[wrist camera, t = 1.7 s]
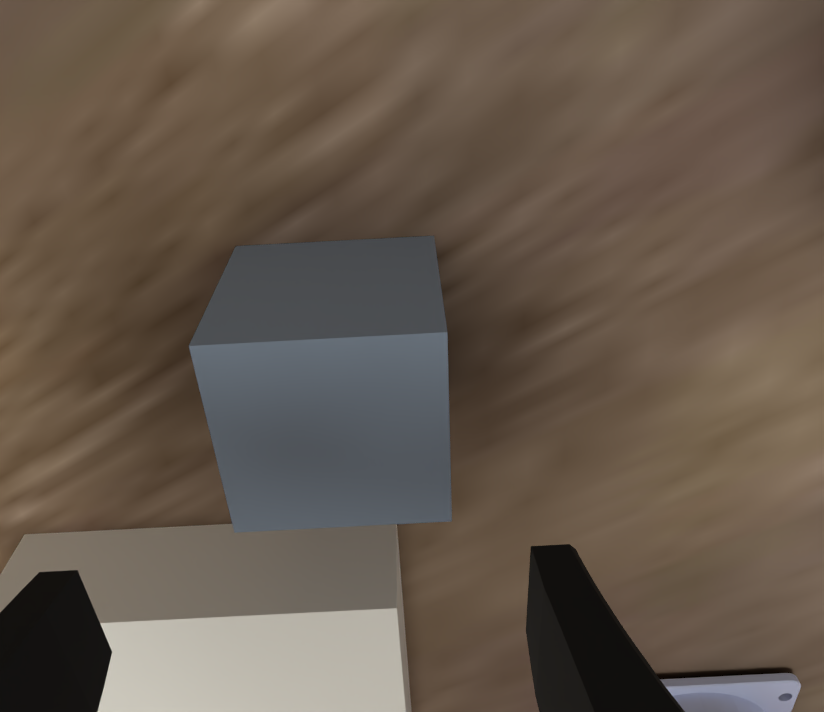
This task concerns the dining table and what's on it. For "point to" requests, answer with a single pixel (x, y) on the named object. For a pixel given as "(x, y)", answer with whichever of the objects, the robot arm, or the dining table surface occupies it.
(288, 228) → the dining table surface
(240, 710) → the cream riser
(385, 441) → the blue cube
